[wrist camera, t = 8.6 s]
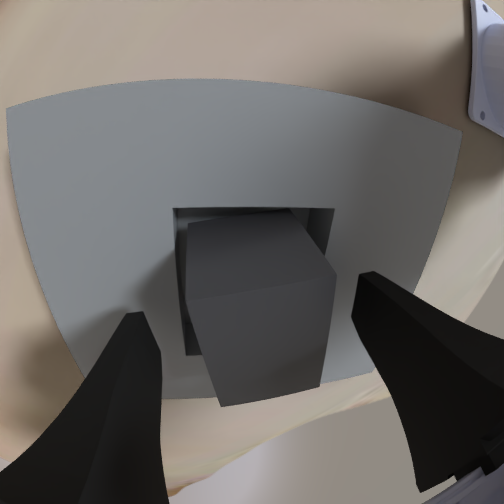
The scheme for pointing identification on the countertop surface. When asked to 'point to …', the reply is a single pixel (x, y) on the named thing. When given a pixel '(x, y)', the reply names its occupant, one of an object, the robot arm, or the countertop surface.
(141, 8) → the countertop surface
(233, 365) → the plug
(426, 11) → the countertop surface
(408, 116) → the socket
